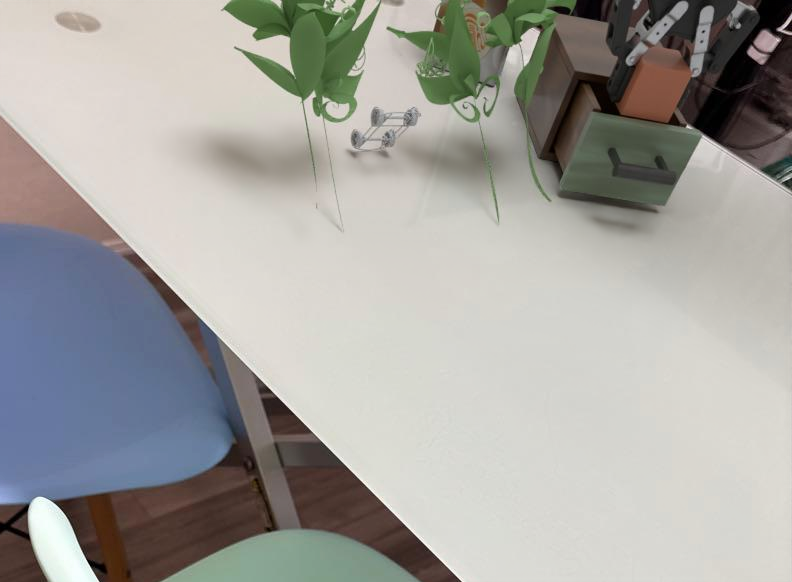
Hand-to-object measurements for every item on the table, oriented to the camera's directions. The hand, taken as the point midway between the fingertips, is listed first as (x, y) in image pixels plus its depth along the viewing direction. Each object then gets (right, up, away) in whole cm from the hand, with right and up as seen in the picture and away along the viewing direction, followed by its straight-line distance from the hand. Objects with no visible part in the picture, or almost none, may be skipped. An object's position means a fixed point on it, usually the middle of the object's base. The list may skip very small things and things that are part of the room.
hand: (640, 103), depth 98 cm
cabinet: (-1, +3, +14) cm, 14 cm away
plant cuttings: (-25, -8, 0) cm, 26 cm away
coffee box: (-13, +14, +21) cm, 28 cm away
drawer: (-1, -5, +6) cm, 8 cm away
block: (0, 0, 0) cm, 0 cm away
